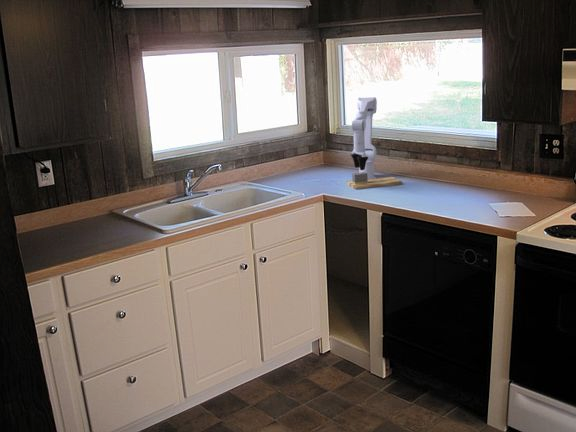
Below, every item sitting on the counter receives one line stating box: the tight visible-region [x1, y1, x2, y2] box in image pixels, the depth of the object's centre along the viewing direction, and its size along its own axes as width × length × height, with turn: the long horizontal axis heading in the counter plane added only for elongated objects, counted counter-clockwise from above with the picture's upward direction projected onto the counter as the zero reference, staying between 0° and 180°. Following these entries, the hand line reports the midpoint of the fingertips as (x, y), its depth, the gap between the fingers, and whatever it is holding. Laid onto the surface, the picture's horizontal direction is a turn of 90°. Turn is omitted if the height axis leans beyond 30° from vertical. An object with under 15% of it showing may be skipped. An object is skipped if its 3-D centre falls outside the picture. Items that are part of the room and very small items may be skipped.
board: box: [346, 176, 403, 190], centre depth 333 cm, size 14×26×2 cm, turn 104°
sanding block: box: [351, 172, 368, 184], centre depth 330 cm, size 4×7×5 cm, turn 104°
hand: (359, 168), depth 329 cm, fingers open, 7 cm apart
